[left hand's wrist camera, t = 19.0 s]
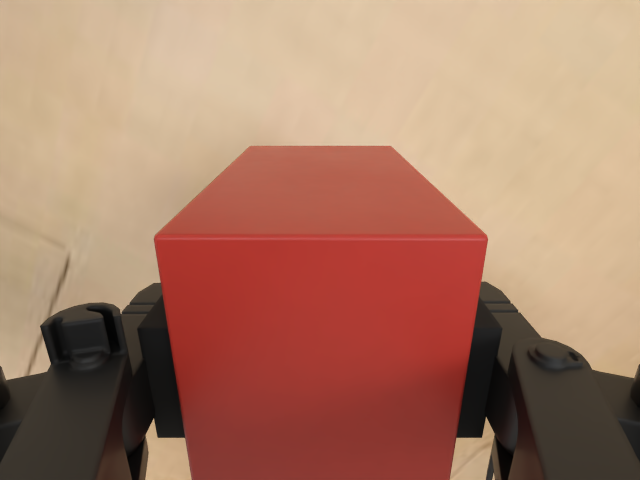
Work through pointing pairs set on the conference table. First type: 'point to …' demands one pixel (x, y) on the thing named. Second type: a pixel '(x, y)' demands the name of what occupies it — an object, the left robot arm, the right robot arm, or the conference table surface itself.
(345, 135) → the conference table surface
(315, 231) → the brick
